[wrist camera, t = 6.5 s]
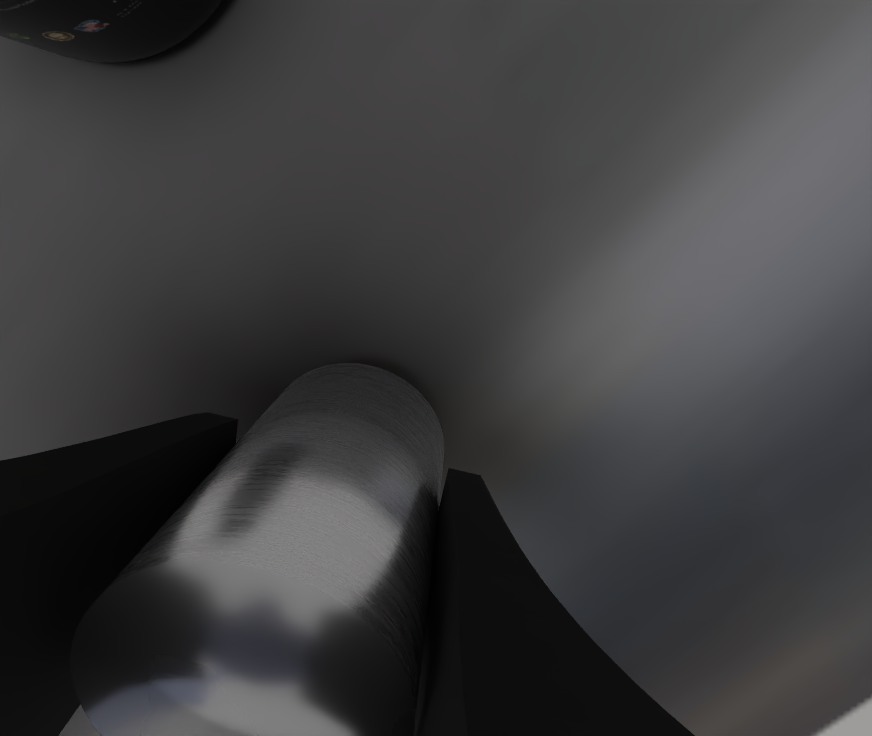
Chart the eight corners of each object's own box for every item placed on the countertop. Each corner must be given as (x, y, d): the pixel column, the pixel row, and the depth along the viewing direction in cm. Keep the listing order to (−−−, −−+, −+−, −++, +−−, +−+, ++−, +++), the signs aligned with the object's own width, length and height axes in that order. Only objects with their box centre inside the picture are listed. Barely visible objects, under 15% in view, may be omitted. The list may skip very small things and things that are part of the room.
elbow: (282, 341, 11) (69, 520, 5) (465, 391, 11) (456, 620, 5) (237, 618, 14) (70, 929, 8) (383, 655, 14) (320, 990, 8)
